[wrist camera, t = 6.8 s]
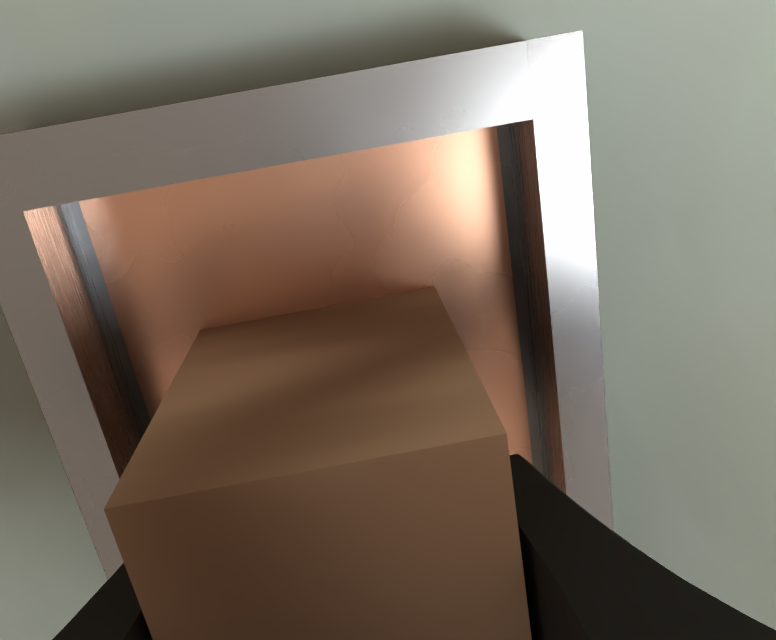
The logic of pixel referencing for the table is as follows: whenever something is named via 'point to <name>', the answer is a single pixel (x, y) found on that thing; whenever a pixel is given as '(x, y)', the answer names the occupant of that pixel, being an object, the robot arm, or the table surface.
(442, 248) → the grey rectangular tray piece
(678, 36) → the table surface
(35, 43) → the table surface
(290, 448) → the block
